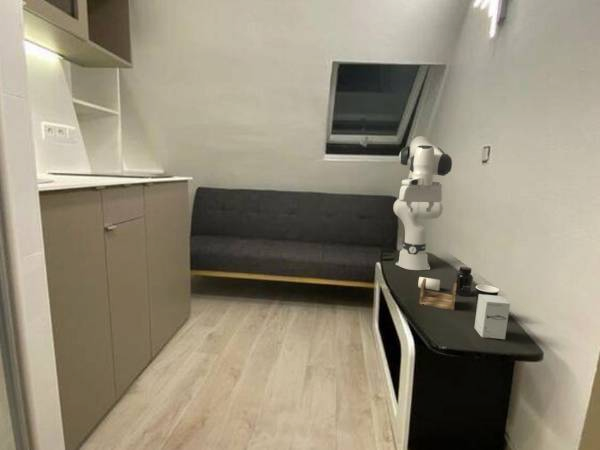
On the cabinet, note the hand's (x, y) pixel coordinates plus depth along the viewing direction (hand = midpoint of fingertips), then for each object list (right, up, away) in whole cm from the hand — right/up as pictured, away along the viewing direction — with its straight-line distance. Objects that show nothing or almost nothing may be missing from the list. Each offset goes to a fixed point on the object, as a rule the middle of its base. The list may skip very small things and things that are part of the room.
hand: (419, 211), depth 158 cm
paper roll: (+5, -33, +1) cm, 34 cm away
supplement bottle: (+18, -37, -5) cm, 41 cm away
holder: (+2, -38, -16) cm, 42 cm away
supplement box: (+9, -43, -43) cm, 61 cm away
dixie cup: (+15, -41, -28) cm, 52 cm away
